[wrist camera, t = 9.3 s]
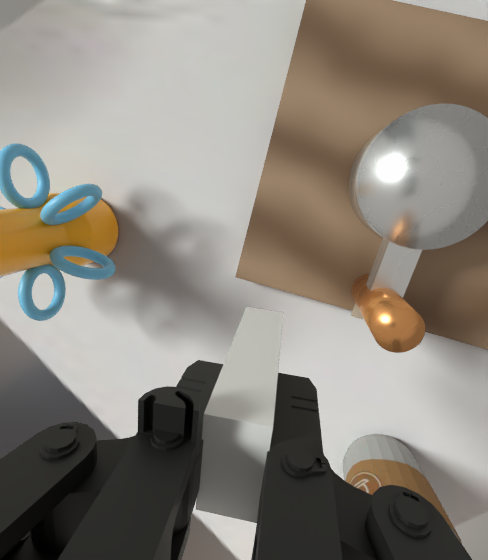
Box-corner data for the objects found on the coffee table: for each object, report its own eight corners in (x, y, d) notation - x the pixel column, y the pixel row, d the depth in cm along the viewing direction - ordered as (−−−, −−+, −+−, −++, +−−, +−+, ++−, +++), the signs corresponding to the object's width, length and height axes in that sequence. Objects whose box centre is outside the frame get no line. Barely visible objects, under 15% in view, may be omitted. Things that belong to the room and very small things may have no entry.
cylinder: (77, 309, 32) (-99, 403, 18) (7, 216, 31) (-246, 238, 16) (175, 240, 29) (57, 287, 15) (102, 133, 28) (-108, 70, 13)
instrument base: (309, 0, 23) (311, -34, 20) (610, 66, 22) (670, 42, 18) (238, 275, 29) (230, 286, 25) (472, 342, 27) (498, 364, 24)
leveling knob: (371, 106, 22) (409, 63, 15) (494, 135, 22) (597, 105, 14) (311, 291, 26) (318, 330, 19) (415, 320, 25) (464, 372, 18)
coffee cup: (370, 405, 30) (438, 599, 16) (445, 457, 30) (580, 696, 16) (313, 463, 33) (327, 677, 18) (383, 511, 33) (452, 760, 18)
